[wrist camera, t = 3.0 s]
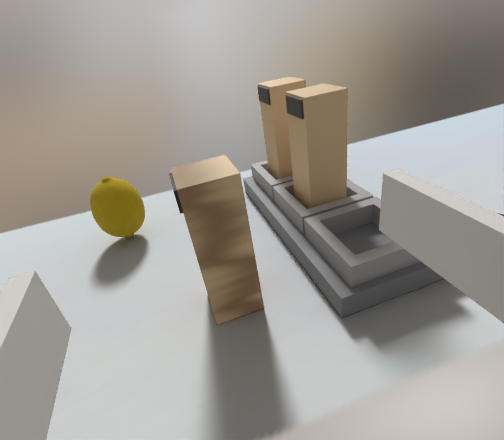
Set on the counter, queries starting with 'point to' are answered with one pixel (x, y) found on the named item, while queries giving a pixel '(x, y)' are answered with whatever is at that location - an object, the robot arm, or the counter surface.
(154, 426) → the counter surface
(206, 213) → the oak finger
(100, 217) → the lemon
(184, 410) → the counter surface
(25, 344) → the robot arm
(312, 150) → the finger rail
